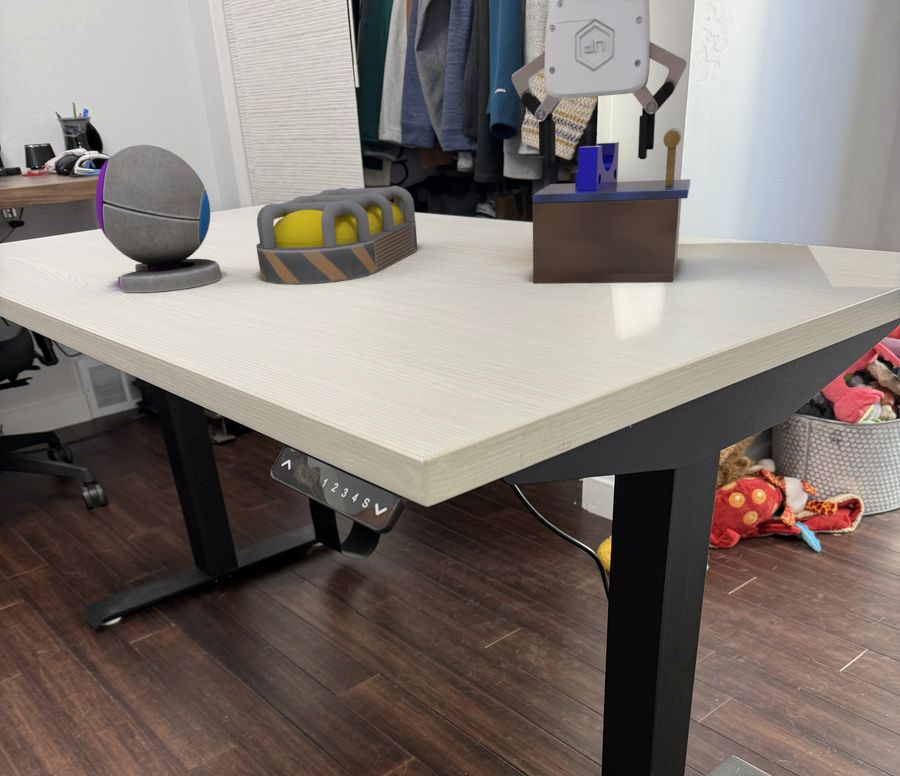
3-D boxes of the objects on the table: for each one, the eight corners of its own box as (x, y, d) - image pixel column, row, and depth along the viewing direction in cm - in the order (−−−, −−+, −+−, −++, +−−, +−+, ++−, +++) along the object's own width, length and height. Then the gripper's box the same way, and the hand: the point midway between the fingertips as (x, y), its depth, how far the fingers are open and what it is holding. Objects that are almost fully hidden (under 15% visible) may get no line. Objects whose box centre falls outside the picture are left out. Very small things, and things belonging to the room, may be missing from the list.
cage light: (426, 182, 119) (346, 206, 94) (430, 244, 123) (354, 283, 98) (328, 186, 122) (226, 210, 98) (335, 246, 126) (239, 284, 102)
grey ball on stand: (127, 277, 111) (97, 146, 103) (227, 270, 112) (204, 139, 104) (104, 296, 100) (68, 150, 92) (216, 287, 101) (189, 142, 93)
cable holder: (586, 184, 95) (587, 143, 93) (617, 183, 94) (618, 142, 92) (563, 191, 89) (564, 147, 87) (596, 190, 88) (597, 146, 86)
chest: (676, 263, 98) (682, 187, 94) (673, 281, 89) (679, 198, 85) (549, 264, 102) (550, 192, 98) (533, 283, 92) (532, 203, 88)
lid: (689, 187, 94) (694, 125, 91) (687, 198, 84) (692, 130, 82) (550, 192, 98) (550, 133, 95) (532, 203, 88) (532, 138, 85)
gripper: (502, -35, 81) (507, 168, 89) (692, -57, 76) (679, 158, 85) (517, -26, 87) (520, 163, 95) (694, -46, 83) (681, 154, 91)
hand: (595, 161), depth 90 cm, fingers open, 9 cm apart
